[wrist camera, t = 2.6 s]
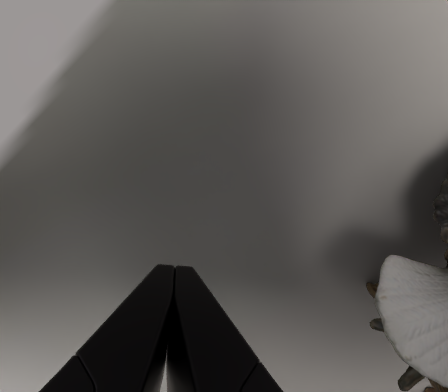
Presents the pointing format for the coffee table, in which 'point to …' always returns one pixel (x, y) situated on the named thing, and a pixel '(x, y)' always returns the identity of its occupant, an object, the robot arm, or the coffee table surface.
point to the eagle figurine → (417, 310)
